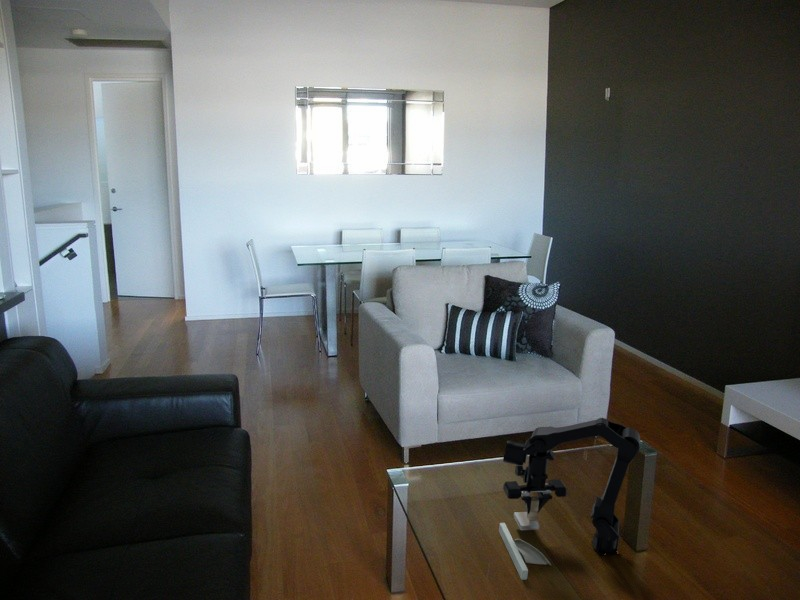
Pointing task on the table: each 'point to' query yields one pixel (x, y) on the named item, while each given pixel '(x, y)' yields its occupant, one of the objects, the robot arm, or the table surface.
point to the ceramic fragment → (531, 553)
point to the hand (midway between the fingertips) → (532, 512)
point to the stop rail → (513, 551)
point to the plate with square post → (528, 516)
